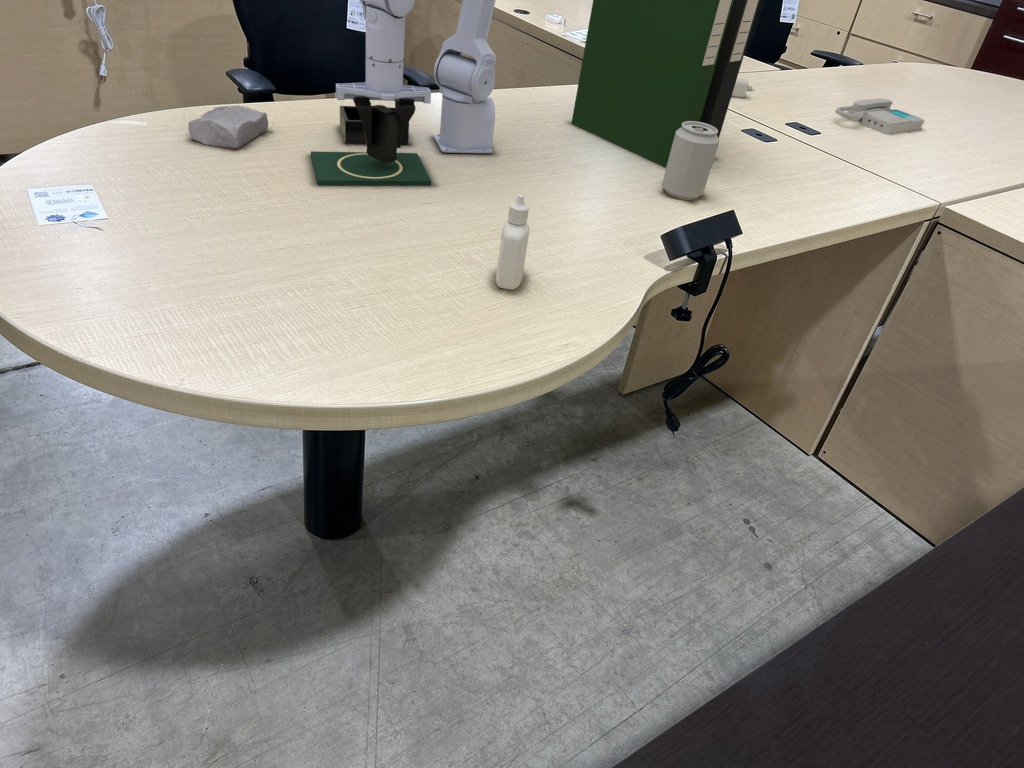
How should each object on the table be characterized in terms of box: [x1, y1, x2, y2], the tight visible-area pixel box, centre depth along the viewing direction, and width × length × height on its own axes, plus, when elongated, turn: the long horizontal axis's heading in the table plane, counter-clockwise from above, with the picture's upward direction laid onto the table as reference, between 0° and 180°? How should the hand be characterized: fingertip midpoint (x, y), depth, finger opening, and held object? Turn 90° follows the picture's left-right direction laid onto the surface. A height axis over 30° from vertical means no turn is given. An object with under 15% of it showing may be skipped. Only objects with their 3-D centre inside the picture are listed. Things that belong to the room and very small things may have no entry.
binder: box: [571, 0, 761, 168], centre depth 142 cm, size 27×15×32 cm, turn 43°
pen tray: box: [339, 105, 410, 146], centre depth 133 cm, size 11×8×4 cm
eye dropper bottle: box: [495, 194, 530, 291], centre depth 94 cm, size 4×6×12 cm
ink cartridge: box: [366, 104, 399, 163], centre depth 118 cm, size 5×2×8 cm, turn 48°
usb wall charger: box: [731, 77, 756, 99], centre depth 190 cm, size 4×7×4 cm, turn 96°
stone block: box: [187, 104, 269, 150], centre depth 125 cm, size 12×5×10 cm
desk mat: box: [310, 150, 432, 186], centre depth 121 cm, size 18×12×1 cm, turn 107°
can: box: [661, 121, 720, 201], centre depth 128 cm, size 8×8×12 cm
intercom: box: [834, 97, 925, 135], centre depth 185 cm, size 13×4×25 cm
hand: (382, 145), depth 119 cm, fingers closed on ink cartridge, 4 cm apart
